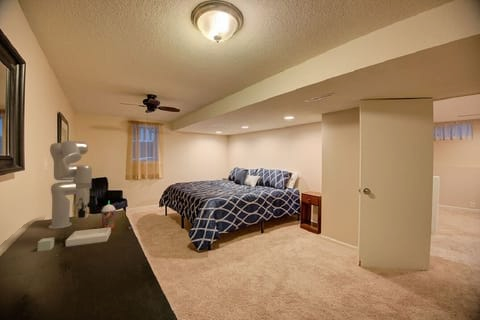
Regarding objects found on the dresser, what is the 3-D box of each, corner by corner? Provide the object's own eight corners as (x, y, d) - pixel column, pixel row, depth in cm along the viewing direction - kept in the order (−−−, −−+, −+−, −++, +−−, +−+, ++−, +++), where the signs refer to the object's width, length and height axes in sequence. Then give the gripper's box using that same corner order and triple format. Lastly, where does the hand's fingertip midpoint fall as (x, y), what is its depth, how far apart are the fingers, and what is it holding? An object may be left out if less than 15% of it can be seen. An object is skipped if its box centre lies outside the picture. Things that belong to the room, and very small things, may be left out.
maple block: (78, 216, 121) (79, 208, 121) (88, 215, 123) (89, 207, 123) (76, 218, 116) (76, 209, 117) (86, 217, 119) (87, 209, 119)
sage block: (42, 247, 109) (42, 238, 109) (54, 246, 111) (54, 237, 111) (37, 251, 104) (37, 242, 104) (50, 250, 106) (50, 240, 106)
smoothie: (110, 231, 135) (110, 202, 135) (97, 231, 135) (98, 201, 135) (117, 227, 143) (118, 199, 143) (106, 227, 143) (107, 199, 143)
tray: (74, 236, 125) (74, 231, 125) (110, 232, 133) (110, 227, 133) (65, 246, 110) (65, 240, 110) (106, 241, 118) (106, 235, 118)
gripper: (80, 184, 126) (79, 213, 126) (71, 187, 111) (70, 220, 111) (94, 184, 129) (93, 212, 129) (87, 187, 114) (86, 219, 114)
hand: (82, 216), depth 120 cm, fingers closed on maple block, 4 cm apart
